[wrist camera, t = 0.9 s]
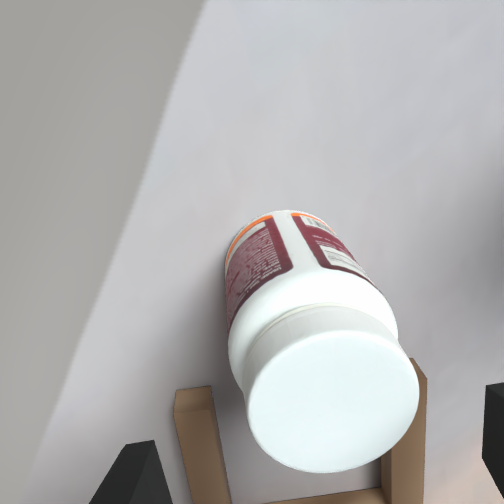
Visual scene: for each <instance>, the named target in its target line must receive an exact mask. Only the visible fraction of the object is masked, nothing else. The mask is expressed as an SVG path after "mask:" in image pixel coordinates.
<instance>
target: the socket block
mask: <svg viewBox="0 0 504 504" xmlns="http://www.w3.org/2000/svg"><path fill="white" fill-rule="evenodd" d="M409 360H410V362H411V363H412V365H413V367H414V370H415V372H416V375H417V378H418V383H419V401H418V408H417V411H416V414H415V416H414V419H413V421H412V423H411V424H410V426H409V428H408V429H407V431H406V433H405V434H404V435H403V436H402V438H401V439H400V440H399V441H398V442H397V443H396V444H395V445H394V446H393V447H392V448H391V449H389V450H388V451H387V452H386V453H385V454H383V455H381V487H379V488H372V489H365V490H358V491H351V492H344V493H337V494H330V495H323V496H316V497H309V498H302V499H295V500H288V501H281V502H274V503H267V504H423V495H424V464H425V434H426V404H427V378H426V376H425V375H424V374H423V372H422V371H421V369H420V368H419V366H418V365H417V363H416V362H415V360H414V359H413V358H409ZM173 416H174V420H175V425H176V429H177V434H178V438H179V443H180V447H181V451H182V456H183V460H184V465H185V469H186V474H187V478H188V482H189V487H190V491H191V496H192V500H193V504H232V501H231V496H230V490H229V485H228V479H227V474H226V468H225V463H224V457H223V452H222V446H221V441H220V435H219V430H218V424H217V419H216V413H215V408H214V402H213V397H212V391H211V386H205V387H198V388H191V389H183V390H176V397H175V404H174V412H173Z"/></svg>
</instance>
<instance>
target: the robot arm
mask: <svg viewBox="0 0 504 504" xmlns="http://www.w3.org/2000/svg"><path fill="white" fill-rule="evenodd" d="M482 459H483V461H484V463H485V465H486V466H487V468H488V470H489V472H490V474H491V476H492V478H493V480H494V482H495V484H496V486H497V487H498V489H499V491H500V493H501V495H502V496H503V498H504V383H497V384H491V385H486V392H485V410H484V428H483V446H482ZM89 504H173V503H172V499H171V496H170V493H169V489H168V486H167V482H166V479H165V476H164V472H163V469H162V465H161V462H160V459H159V455H158V452H157V448H156V445H155V441H154V440H150V441H144V442H138V443H132V444H126V445H125V446H124V448H123V449H122V450H121V452H120V454H119V455H118V457H117V459H116V460H115V462H114V464H113V465H112V467H111V469H110V470H109V472H108V474H107V475H106V477H105V478H104V480H103V482H102V483H101V485H100V487H99V488H98V490H97V491H96V493H95V495H94V496H93V498H92V500H91V501H90V503H89Z"/></svg>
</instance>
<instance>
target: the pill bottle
mask: <svg viewBox="0 0 504 504" xmlns="http://www.w3.org/2000/svg"><path fill="white" fill-rule="evenodd" d="M225 286H226V308H227V333H228V357H229V362H230V367H231V370H232V373H233V376H234V378H235V380H236V382H237V384H238V386H239V387H240V389H241V390H242V392H243V394H244V399H245V408H246V416H247V421H248V425H249V428H250V431H251V433H252V435H253V437H254V438H255V440H256V442H257V443H258V445H259V446H260V447H261V448H262V449H263V450H264V451H265V452H266V453H267V454H268V455H269V456H270V457H271V458H273V459H274V460H276V461H277V462H279V463H281V464H283V465H285V466H288V467H290V468H292V469H296V470H299V471H304V472H310V473H335V472H341V471H345V470H350V469H353V468H356V467H360V466H362V465H365V464H367V463H369V462H371V461H373V460H375V459H376V458H378V457H380V456H381V455H383V454H385V453H386V452H387V451H388V450H389V449H391V448H392V447H393V446H394V445H395V444H396V443H397V442H398V441H399V440H400V439H401V438H402V436H403V435H404V434H405V433H406V431H407V429H408V428H409V426H410V424H411V423H412V421H413V419H414V416H415V414H416V411H417V408H418V401H419V383H418V378H417V375H416V372H415V370H414V367H413V365H412V363H411V362H410V360H409V358H408V357H407V355H406V354H405V352H404V351H403V349H402V347H401V346H400V344H399V343H398V331H397V325H396V320H395V317H394V314H393V312H392V309H391V307H390V305H389V303H388V301H387V300H386V299H385V297H384V296H383V294H382V293H381V292H380V291H379V290H378V288H377V287H376V286H375V284H374V283H373V282H372V281H371V280H370V278H369V277H368V276H367V274H366V273H365V272H364V270H363V269H362V268H361V267H360V265H359V264H358V263H357V262H356V260H355V259H354V258H353V256H352V255H351V253H350V252H349V251H348V250H347V248H346V247H345V246H344V244H343V243H342V241H341V240H340V239H339V237H338V236H337V235H336V233H335V232H334V231H333V230H332V229H331V228H330V227H329V226H328V225H327V224H326V223H325V222H324V221H322V220H321V219H319V218H318V217H316V216H313V215H311V214H309V213H305V212H302V211H296V210H280V211H273V212H269V213H266V214H263V215H261V216H259V217H257V218H255V219H254V220H252V221H251V222H250V223H248V224H247V225H246V226H244V227H243V228H242V229H241V230H240V232H239V233H238V234H237V235H236V237H235V238H234V240H233V241H232V243H231V245H230V248H229V250H228V253H227V257H226V262H225Z"/></svg>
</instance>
